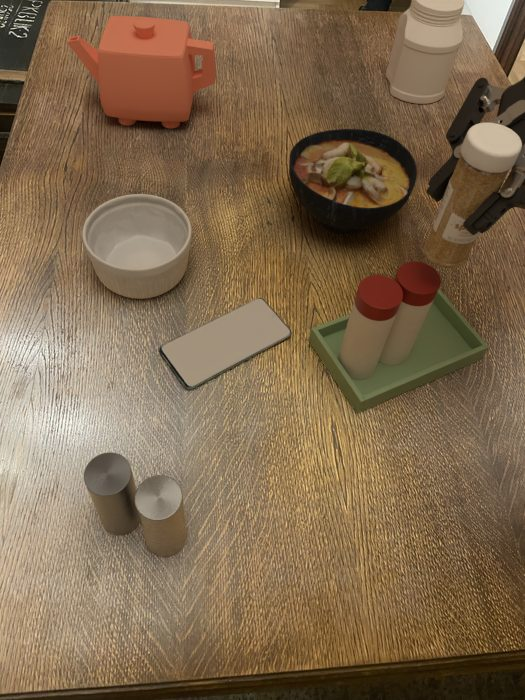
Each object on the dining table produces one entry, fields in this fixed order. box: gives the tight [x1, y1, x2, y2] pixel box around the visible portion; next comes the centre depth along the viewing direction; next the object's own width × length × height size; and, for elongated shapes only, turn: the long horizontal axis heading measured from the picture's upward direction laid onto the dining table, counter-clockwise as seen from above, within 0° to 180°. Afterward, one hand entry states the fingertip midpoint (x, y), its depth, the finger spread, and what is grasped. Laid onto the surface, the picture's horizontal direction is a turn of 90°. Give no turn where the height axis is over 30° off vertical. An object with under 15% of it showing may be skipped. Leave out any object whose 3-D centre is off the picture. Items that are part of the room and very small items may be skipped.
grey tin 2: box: [134, 474, 188, 558], centre depth 55 cm, size 4×4×10 cm
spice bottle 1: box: [337, 274, 403, 380], centre depth 66 cm, size 5×5×13 cm
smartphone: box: [158, 297, 292, 390], centre depth 73 cm, size 7×1×15 cm
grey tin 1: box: [83, 452, 141, 536], centre depth 56 cm, size 4×4×10 cm
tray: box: [308, 288, 490, 414], centre depth 73 cm, size 18×11×3 cm, turn 117°
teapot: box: [67, 15, 217, 129], centre depth 94 cm, size 22×13×14 cm, turn 89°
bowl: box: [288, 128, 418, 235], centre depth 84 cm, size 17×17×10 cm
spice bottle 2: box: [379, 260, 442, 366], centre depth 68 cm, size 5×5×13 cm
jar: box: [385, 0, 465, 105], centre depth 103 cm, size 12×10×15 cm
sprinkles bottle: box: [423, 122, 522, 269], centre depth 55 cm, size 5×5×13 cm
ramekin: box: [81, 193, 193, 300], centre depth 76 cm, size 13×13×7 cm
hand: (450, 212), depth 55 cm, fingers closed on sprinkles bottle, 4 cm apart
